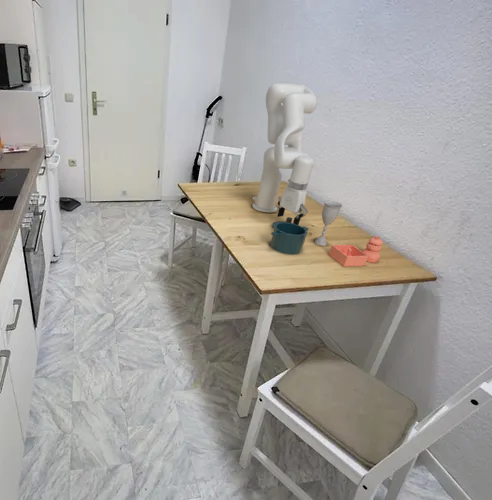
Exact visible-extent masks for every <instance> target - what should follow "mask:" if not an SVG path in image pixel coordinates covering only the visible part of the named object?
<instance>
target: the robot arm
mask: <svg viewBox="0 0 492 500" xmlns="http://www.w3.org/2000/svg"><path fill="white" fill-rule="evenodd" d="M317 105H318V99H317V96H316V95H315V92H314V91H313V90H312V89H310V88H309V87H308V86H307V85H305V84H303V83H289V82H287V83H286V82H277V83H274V84H273V83H272V84H271V85H270V86H269V87H268V89H267V91H266V95H265V108H266V110H267V141H268V143H269V144H271V145H274V146H271V147H269V148H267V149H265V151H264V154H263V166H262V173H261V179H260V183H259V186H258V187H259V188H258V192H257V195H255V196H253V197H252V200H253V201H254V202H253V203H252V205H251V206H252V209H254V210H255V211H258V212H261V213H266V214H267V213H269V214H270V213H276V212H277V215H276V217H278V218H281V217H283V216H284V215H285V211H286V210H287V211H288V212H290V213H293V214H294V216H295V217H294V218H293V220H292V223H293V224H296V225H299V224H300V222H301V219H302V218H303V217H306V215H307V214H308V213H309V211H308V209H307V208H306V207H305V205H306V199H307V187H308V184H309V181H310V177H311V174H312V171H313V168H314V165H315V159H314V158H312V157H311V156H309V154H308V153H307V152H305V151H303V130H304V129H305V114H308V115H309V114H313V112H315V110H316V109H317ZM280 169H282V170H283V169H284V170H291V174H290V178H289V179H288V180H287V181H288V184H287V185H286V186H285V188H284V190H283V192H282V194H281V196H278V194H279V191H280V187H281V183H282V172H281V170H280ZM276 204H277V205H278V206H277V205H276ZM299 226H300V225H299Z"/></svg>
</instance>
